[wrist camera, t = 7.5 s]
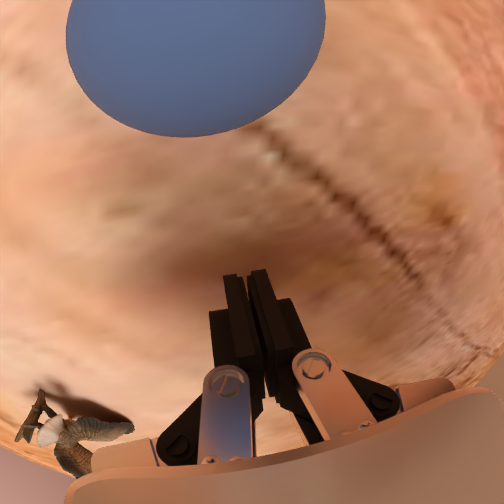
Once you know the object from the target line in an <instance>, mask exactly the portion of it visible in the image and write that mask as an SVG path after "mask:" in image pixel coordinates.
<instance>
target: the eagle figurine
mask: <svg viewBox="0 0 504 504" xmlns="http://www.w3.org/2000/svg"><path fill="white" fill-rule="evenodd" d="M42 411H45V412H46V413H47V415H48V417H50V418H51V419H48V420H47V421H46V422H45V424H42V423H38V419H39V417H40V415H41V414H42ZM34 428H38V429H39V431H38V432H37V443H38V445H39V446H40V447H45V446H47V445H49V444H52V443H56V447H55V449H54V455H55V456H56V459H57V460H58V462H59V464H60V465H61V466H62V468H63V470H65V471H68V472H69V473H71V474H73V475H74V476H75V477H76V479H78V478H80V477H82V476H84V475H87V474H90V473H92V468H91V457H92V455H93V453H92V452H90V451H89V450H87V449H86V448H84V447H83V446H82V445H80V444H79V443H78V441H80V440H89V441H112V440H114V439H116V438H118V437H119V436H121V435H123V434H129V433H132V432H133V431H134V430H135V429H134V426H133V424H131V423H128V422H125V423H124V422H120V423H116V422H112V423H109V422H105V421H102V422H100V420H99V419H96V418H95V417H93V418H92V417H87V418H86V417H81V418H77V421H74V420H72V418H71V417H68V419H67V420H64V419H63V418H62V415H61V414H59V415H57V414H56V413H55V412H54V411H53V410H52V409H51V408H50V407H48V406H47V404H46V400H45V393H44V392H43V390H42V389H40V390H39V393H38V398H37V401H36V403H35V405H32V409H31V411H30V413H29V415H28V417H27V419H26V420H25V421H24V423H23V424H22V426H21V428H20V430H19V432H18V434H17V436H16V438H15V442H19V440H20V439H21V438H24V439H25V440H26V441H27V442H28V443H30V441H31V438H32V434H33V431H34Z"/></svg>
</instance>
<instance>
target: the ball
mask: <svg viewBox="0 0 504 504" xmlns="http://www.w3.org/2000/svg"><path fill="white" fill-rule="evenodd" d="M325 20H326V14H325V3H324V0H73V1H72V4H71V6H70V10H69V14H68V19H67V25H66V49H67V54H68V59H69V63H70V66H71V68H72V71H73V73H74V75H75V78H76V80H77V82H78V83H79V85H80V86H81V88H82V89H83V91H84V92H85V93H86V95H87V96H88V97H89V99H90V100H91V101H92V102H93V103H94V104H95V105H96V106H97V107H99V108H100V109H101V110H102V111H104V112H105V113H106V114H107V115H109V116H111V117H112V118H114V119H115V120H117V121H119V122H121V123H123V124H125V125H126V126H129V127H132V128H134V129H137V130H140V131H143V132H146V133H150V134H156V135H161V136H169V137H199V136H208V135H213V134H218V133H222V132H226V131H229V130H232V129H236V128H239V127H241V126H244V125H246V124H248V123H251V122H253V121H255V120H257V119H258V118H260V117H262V116H264V115H265V114H267V113H268V112H270V111H271V110H273V109H274V108H275V107H277V106H278V105H280V104H281V103H282V102H283V101H285V100H286V99H287V98H288V97H289V96H290V95H291V94H292V93H293V92H294V91H295V90H296V89H297V87H298V86H299V85H300V84H301V83H302V82H303V80H304V79H305V78H306V76H307V75H308V73H309V71H310V70H311V68H312V66H313V64H314V63H315V61H316V59H317V56H318V53H319V50H320V47H321V44H322V41H323V38H324V31H325Z"/></svg>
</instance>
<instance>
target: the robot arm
mask: <svg viewBox="0 0 504 504" xmlns="http://www.w3.org/2000/svg"><path fill="white" fill-rule="evenodd" d="M223 280H224V286H225V293H226V299H227V305H228V309H223V310H216V311H209V320H210V330H211V339H212V349H213V357H214V366H215V368H214V369H212V370H211V371H210V372H209V373H208V374H207V375H206V377H205V379H204V383H203V393H202V394H201V395H200V396H199V397H198V398H197V399H196V400H195V401H194V402H193V403H192V404H191V405H190V406H189V407H188V408H187V409H186V410H185V411H184V412H183V413H182V414H181V415H180V416H179V417H178V418H177V419H176V420H175V421H174V422H173V423H172V424H171V425H170V426H169V427H168V428H167V429H166V430H165V431H164V432H163V433H162V434H161V435H160V436H159V437H158V438H154V439H150V438H145V439H141V440H136V441H132V442H127V443H122V444H117V445H112V446H107V447H102V448H100V449H97V450H96V451H95V452H94V453H93V455H92V457H91V468H92V473H90V474H87V475H84V476H82V477H80V478H78V479H77V480H75V481H74V482H73V483H72V484H71V485H70V486H69V488H68V490H67V493H66V496H65V501H64V504H504V404H503V402H502V401H501V400H500V398H499V397H498V396H497V395H496V394H494V393H493V392H492V391H490V390H488V389H485V388H478V387H471V388H463V389H458V390H456V389H455V387H454V385H453V383H452V382H451V381H449V380H448V379H445V378H435V379H430V380H425V381H420V382H415V383H409V384H404V385H398V386H397V388H392V389H391V388H389V387H387V386H385V385H382V384H379V383H376V382H374V381H371V380H368V379H365V378H363V377H360V376H357V375H355V374H352V373H350V372H347V371H344V370H342V369H341V368H340V367H339V365H338V364H337V362H336V361H335V359H334V358H333V357H332V356H331V355H330V354H329V353H328V352H326V351H324V350H321V349H312V348H311V345H310V343H309V341H308V338H307V336H306V333H305V331H304V329H303V326H302V324H301V322H300V319H299V317H298V315H297V312H296V310H295V308H294V305H293V303H292V301H291V299H290V298H287V299H281V300H277V299H276V296H275V294H274V291H273V288H272V286H271V283H270V280H269V278H268V275H267V272H266V270H265V269H262V270H256V271H251V275H248V276H247V287H248V296H247V292H246V288H245V284H244V280H243V277H237V274H231V275H224V276H223ZM248 297H249V300H248ZM264 378H265V382H266V386H267V390H268V394H269V397H274V396H275V399H276V403H280V407H282V408H284V409H286V410H288V411H289V413H290V416H291V418H292V420H293V422H294V423H295V425H296V427H297V429H298V431H299V433H300V435H301V437H302V439H303V441H304V443H305V445H306V446H305V447H301V448H297V449H293V450H289V451H284V452H280V453H275V454H270V455H265V456H260V457H257V448H256V423H255V420H256V418H257V417H258V416H259V415H260V413H261V412H262V411H263V403H262V399H264V398H265V385H264Z"/></svg>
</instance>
